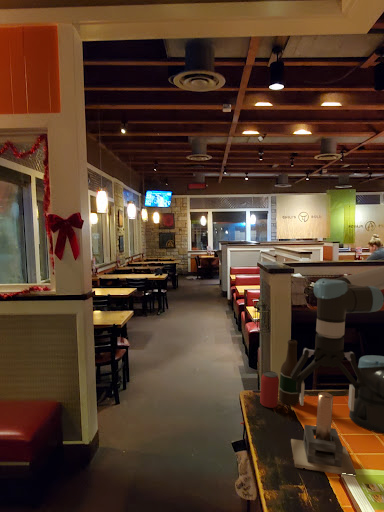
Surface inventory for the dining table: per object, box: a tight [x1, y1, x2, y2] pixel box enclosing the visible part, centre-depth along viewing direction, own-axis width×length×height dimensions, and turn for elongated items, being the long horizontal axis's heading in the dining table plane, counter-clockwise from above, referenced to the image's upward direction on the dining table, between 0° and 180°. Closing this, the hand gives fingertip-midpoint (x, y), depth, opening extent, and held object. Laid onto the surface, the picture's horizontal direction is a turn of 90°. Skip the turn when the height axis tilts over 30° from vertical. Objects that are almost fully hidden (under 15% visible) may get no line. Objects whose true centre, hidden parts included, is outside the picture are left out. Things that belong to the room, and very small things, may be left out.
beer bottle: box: [278, 339, 302, 406], centre depth 135 cm, size 8×8×24 cm
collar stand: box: [290, 424, 357, 476], centre depth 101 cm, size 16×12×7 cm
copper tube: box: [315, 391, 334, 455], centre depth 101 cm, size 4×4×18 cm
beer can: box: [259, 370, 280, 409], centre depth 132 cm, size 7×7×12 cm
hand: (325, 406), depth 101 cm, fingers open, 13 cm apart
